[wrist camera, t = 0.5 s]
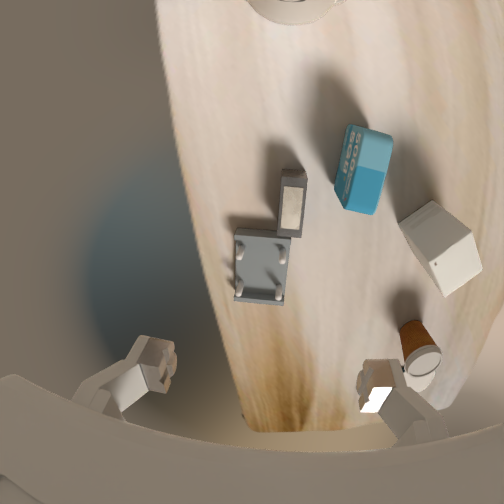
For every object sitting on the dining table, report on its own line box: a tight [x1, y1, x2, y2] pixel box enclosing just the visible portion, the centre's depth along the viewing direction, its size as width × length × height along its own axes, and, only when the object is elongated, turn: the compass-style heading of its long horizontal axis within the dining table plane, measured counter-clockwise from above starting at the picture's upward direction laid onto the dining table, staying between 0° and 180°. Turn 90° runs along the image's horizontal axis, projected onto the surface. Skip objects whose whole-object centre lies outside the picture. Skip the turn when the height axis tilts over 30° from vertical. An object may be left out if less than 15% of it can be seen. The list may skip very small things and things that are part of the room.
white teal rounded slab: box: [358, 368, 436, 396], centre depth 70 cm, size 24×12×2 cm, turn 91°
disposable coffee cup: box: [400, 320, 443, 378], centre depth 57 cm, size 10×10×12 cm
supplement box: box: [398, 200, 483, 298], centre depth 44 cm, size 9×9×15 cm
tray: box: [234, 228, 291, 306], centre depth 56 cm, size 15×10×5 cm
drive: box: [277, 169, 308, 238], centre depth 48 cm, size 10×4×6 cm, turn 178°
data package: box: [334, 124, 393, 215], centre depth 41 cm, size 12×4×12 cm, turn 172°
